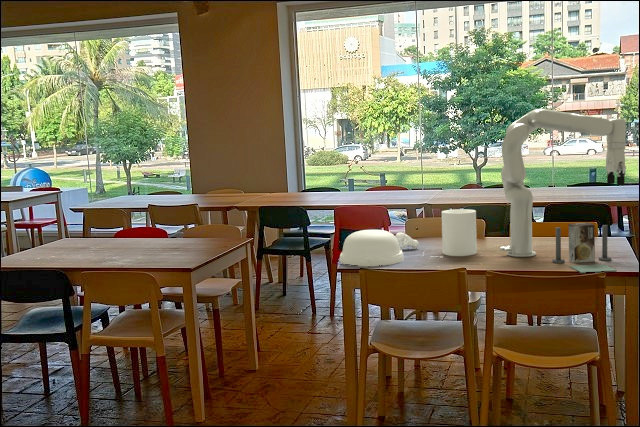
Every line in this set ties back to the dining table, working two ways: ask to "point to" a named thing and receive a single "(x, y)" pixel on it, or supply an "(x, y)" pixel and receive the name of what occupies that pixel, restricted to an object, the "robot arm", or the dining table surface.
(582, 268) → the green mat
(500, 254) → the dining table surface
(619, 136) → the robot arm
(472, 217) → the canister
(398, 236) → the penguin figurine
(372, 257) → the dome cover
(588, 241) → the coffee box
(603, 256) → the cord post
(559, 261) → the post
